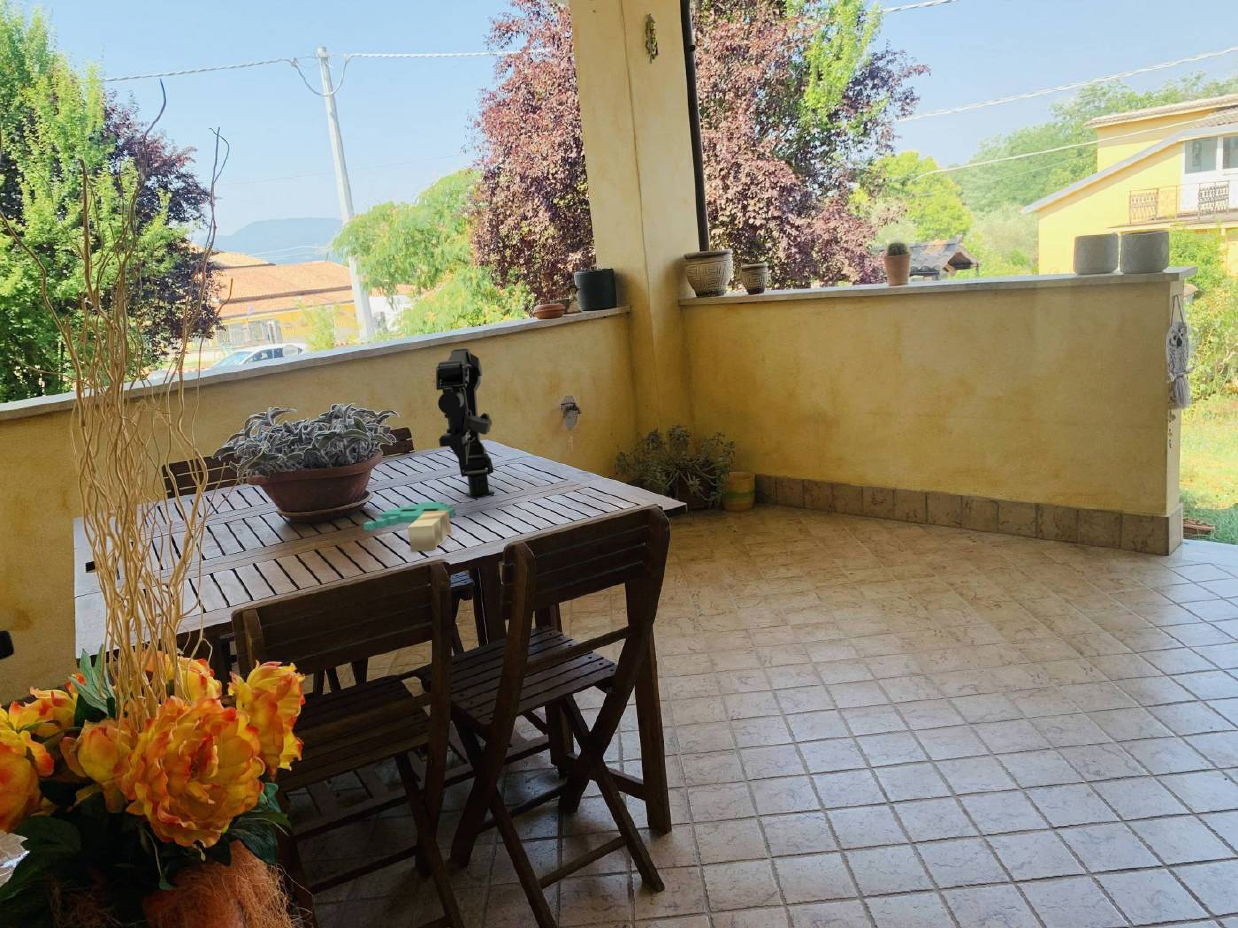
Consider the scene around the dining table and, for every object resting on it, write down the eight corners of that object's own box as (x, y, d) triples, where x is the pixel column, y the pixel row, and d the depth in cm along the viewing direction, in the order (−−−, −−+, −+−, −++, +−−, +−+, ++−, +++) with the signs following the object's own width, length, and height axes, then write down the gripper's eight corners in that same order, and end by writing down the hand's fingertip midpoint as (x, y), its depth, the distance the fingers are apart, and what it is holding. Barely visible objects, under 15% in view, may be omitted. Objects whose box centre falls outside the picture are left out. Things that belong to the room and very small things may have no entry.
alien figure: (433, 531, 235) (466, 509, 254) (431, 522, 235) (464, 501, 253) (364, 532, 241) (401, 510, 260) (363, 524, 240) (400, 502, 259)
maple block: (425, 511, 230) (407, 527, 217) (448, 510, 229) (431, 525, 216) (428, 534, 231) (411, 551, 218) (451, 533, 230) (435, 549, 218)
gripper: (476, 412, 232) (484, 471, 236) (495, 400, 250) (502, 455, 254) (434, 415, 234) (443, 474, 237) (456, 403, 252) (463, 458, 255)
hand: (464, 465), depth 246 cm, fingers closed
